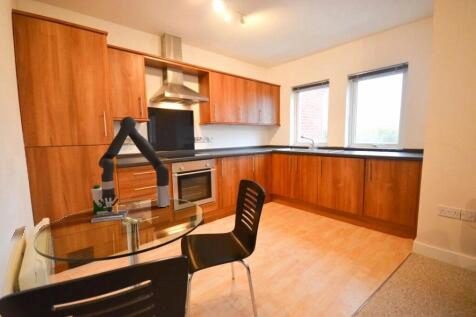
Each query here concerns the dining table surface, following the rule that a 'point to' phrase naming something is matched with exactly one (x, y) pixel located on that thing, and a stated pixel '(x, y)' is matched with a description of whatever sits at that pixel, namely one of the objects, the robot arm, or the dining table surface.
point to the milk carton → (96, 196)
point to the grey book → (109, 215)
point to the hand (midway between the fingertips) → (109, 211)
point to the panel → (110, 218)
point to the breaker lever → (116, 210)
